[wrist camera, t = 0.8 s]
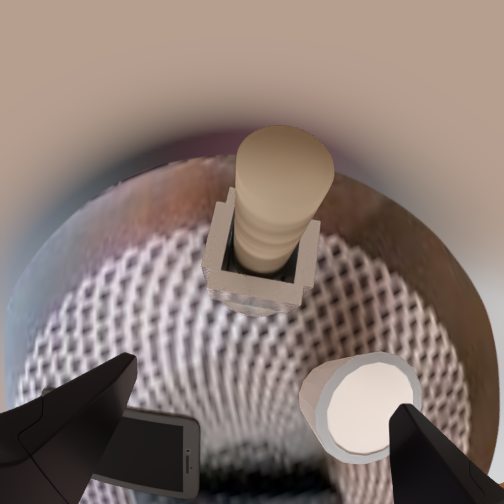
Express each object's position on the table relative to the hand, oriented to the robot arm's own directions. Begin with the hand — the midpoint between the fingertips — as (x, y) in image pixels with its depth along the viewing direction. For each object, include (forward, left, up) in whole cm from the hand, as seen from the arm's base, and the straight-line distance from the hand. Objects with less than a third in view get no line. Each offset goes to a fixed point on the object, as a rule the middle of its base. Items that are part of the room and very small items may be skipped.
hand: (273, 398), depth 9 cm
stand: (+7, +3, -13) cm, 15 cm away
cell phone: (-11, +6, -13) cm, 19 cm away
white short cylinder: (+1, -7, -13) cm, 15 cm away
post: (+7, +3, -11) cm, 14 cm away
